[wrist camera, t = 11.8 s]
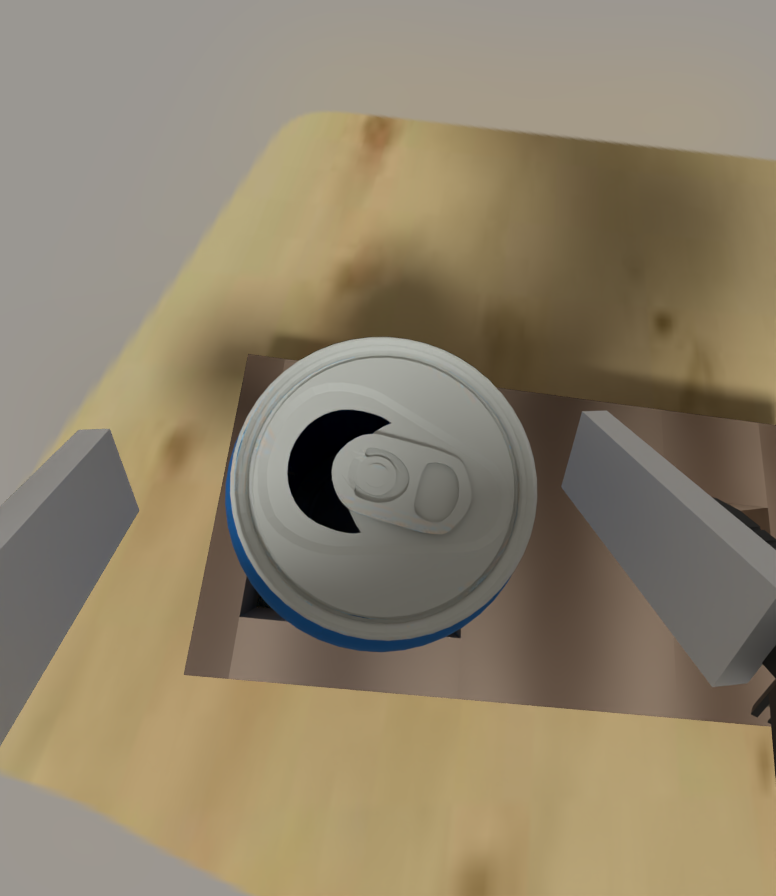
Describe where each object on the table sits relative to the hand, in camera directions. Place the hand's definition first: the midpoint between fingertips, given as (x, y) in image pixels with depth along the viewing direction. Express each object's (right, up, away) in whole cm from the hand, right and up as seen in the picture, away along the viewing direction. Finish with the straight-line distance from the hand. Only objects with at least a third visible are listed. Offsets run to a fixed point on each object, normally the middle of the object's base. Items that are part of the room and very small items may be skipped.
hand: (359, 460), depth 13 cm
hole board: (+7, -4, +7) cm, 11 cm away
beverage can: (0, -3, +7) cm, 8 cm away
